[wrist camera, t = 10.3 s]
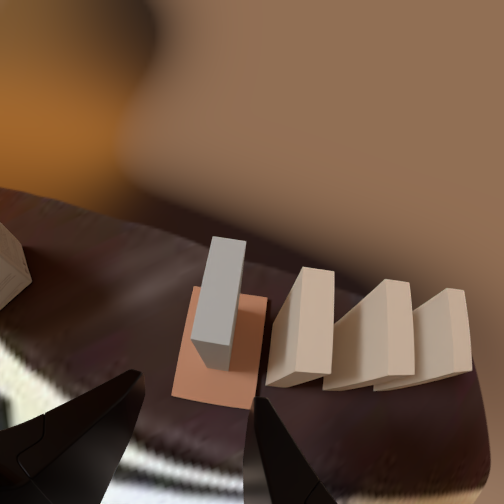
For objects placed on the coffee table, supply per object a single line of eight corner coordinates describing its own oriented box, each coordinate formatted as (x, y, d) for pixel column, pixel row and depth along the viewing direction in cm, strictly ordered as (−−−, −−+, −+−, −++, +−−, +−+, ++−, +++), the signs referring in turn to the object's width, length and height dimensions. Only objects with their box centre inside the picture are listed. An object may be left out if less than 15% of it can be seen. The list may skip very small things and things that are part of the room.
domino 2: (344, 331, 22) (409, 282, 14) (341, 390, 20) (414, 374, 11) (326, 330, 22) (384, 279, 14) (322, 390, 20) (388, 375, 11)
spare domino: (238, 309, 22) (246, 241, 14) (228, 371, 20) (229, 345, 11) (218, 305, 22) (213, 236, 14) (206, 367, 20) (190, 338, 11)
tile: (252, 409, 19) (253, 409, 18) (172, 395, 19) (171, 395, 18) (266, 299, 23) (267, 297, 23) (194, 288, 23) (194, 286, 23)
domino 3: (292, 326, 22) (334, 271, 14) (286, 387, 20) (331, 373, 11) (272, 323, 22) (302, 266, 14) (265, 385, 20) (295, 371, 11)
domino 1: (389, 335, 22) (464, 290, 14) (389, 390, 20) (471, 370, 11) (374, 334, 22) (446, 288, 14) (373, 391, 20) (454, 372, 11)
